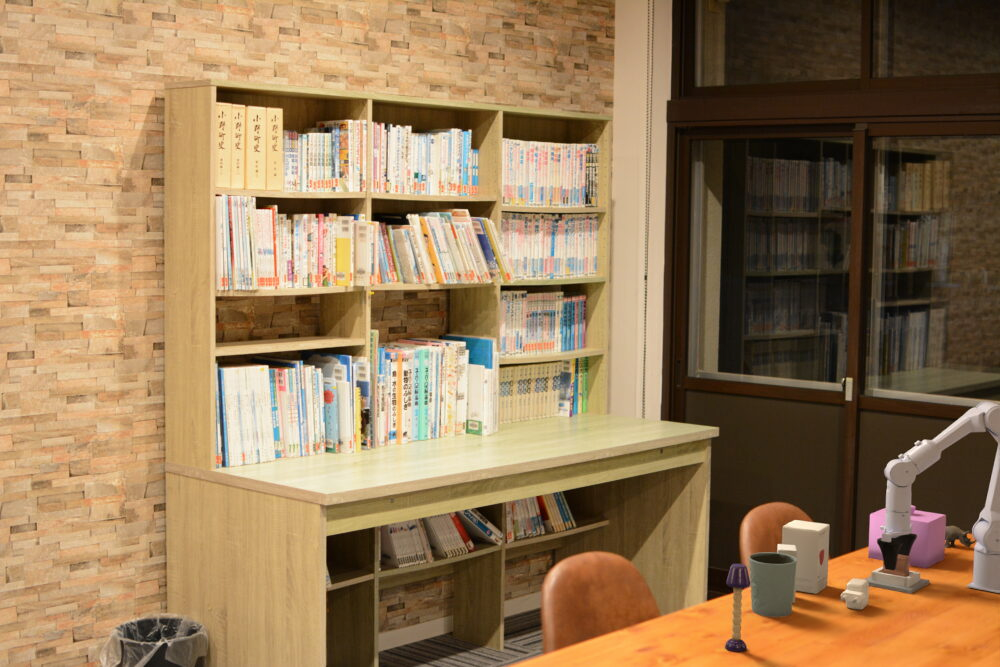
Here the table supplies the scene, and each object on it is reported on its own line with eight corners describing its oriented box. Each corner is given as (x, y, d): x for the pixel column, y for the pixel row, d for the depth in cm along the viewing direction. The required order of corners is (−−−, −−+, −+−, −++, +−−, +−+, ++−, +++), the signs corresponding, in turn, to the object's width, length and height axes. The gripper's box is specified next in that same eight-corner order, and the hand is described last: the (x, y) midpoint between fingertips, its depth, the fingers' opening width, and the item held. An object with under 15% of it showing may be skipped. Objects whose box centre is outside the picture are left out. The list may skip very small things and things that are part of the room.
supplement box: (817, 595, 272) (819, 531, 271) (779, 588, 277) (781, 525, 276) (828, 586, 279) (830, 523, 278) (791, 580, 284) (793, 518, 283)
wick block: (888, 577, 285) (889, 552, 285) (908, 581, 282) (909, 556, 282) (882, 580, 282) (883, 555, 282) (903, 583, 279) (904, 559, 279)
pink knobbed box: (857, 563, 301) (859, 509, 300) (894, 545, 321) (896, 494, 320) (916, 574, 292) (918, 518, 291) (950, 555, 311) (953, 503, 310)
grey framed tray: (880, 574, 291) (881, 562, 291) (929, 583, 283) (929, 571, 283) (861, 584, 282) (861, 572, 281) (911, 593, 274) (911, 581, 274)
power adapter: (858, 617, 255) (859, 591, 254) (835, 614, 257) (836, 587, 257) (871, 605, 264) (872, 579, 264) (849, 601, 267) (850, 576, 267)
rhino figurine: (972, 553, 314) (973, 530, 313) (922, 543, 323) (922, 522, 323) (978, 550, 317) (979, 528, 316) (928, 541, 326) (929, 520, 326)
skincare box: (795, 603, 265) (797, 551, 264) (775, 602, 266) (777, 549, 265) (794, 596, 271) (795, 544, 270) (775, 594, 272) (776, 543, 271)
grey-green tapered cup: (798, 608, 261) (800, 555, 260) (789, 621, 252) (791, 565, 251) (753, 602, 265) (754, 549, 264) (742, 614, 256) (744, 560, 255)
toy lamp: (721, 644, 236) (724, 562, 235) (744, 643, 236) (746, 561, 235) (728, 652, 231) (730, 568, 230) (751, 651, 232) (754, 568, 230)
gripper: (893, 503, 289) (891, 557, 290) (870, 512, 278) (867, 569, 279) (921, 507, 285) (919, 562, 286) (899, 517, 274) (897, 574, 275)
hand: (896, 566), depth 282 cm, fingers open, 7 cm apart
